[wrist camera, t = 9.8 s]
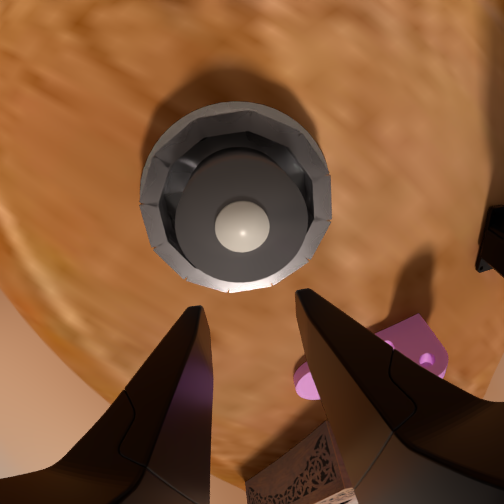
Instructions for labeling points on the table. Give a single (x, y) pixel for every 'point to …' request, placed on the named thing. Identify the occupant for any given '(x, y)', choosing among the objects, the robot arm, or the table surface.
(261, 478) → the tissue box cover
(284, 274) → the shallow metal dish
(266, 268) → the cap
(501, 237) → the robot arm
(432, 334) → the bracket
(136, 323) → the table surface
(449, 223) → the table surface
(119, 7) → the table surface
